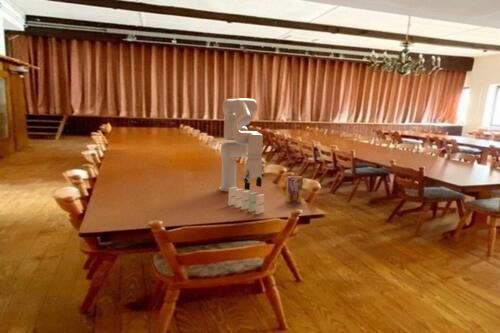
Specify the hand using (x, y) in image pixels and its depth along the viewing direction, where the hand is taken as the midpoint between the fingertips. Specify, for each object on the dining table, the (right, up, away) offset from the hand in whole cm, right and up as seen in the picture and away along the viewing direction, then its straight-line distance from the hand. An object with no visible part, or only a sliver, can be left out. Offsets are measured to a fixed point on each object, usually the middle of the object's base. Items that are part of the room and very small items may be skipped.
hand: (252, 187), depth 186 cm
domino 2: (-8, -11, +8) cm, 16 cm away
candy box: (+25, -10, +23) cm, 35 cm away
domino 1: (-12, -10, +11) cm, 19 cm away
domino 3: (-4, -12, +5) cm, 14 cm away
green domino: (0, -13, +2) cm, 13 cm away
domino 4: (+3, -13, -1) cm, 14 cm away
